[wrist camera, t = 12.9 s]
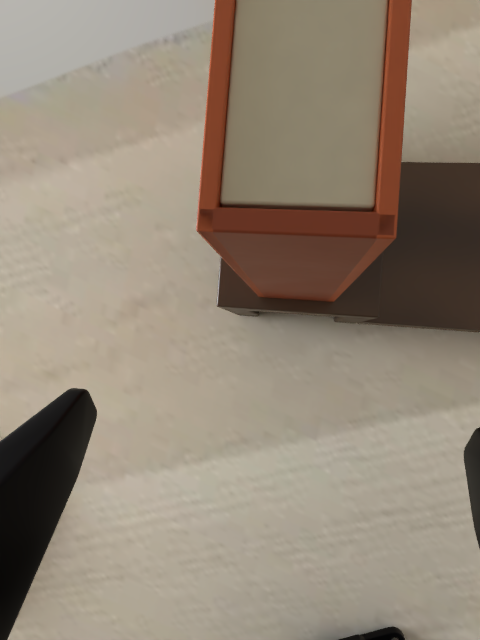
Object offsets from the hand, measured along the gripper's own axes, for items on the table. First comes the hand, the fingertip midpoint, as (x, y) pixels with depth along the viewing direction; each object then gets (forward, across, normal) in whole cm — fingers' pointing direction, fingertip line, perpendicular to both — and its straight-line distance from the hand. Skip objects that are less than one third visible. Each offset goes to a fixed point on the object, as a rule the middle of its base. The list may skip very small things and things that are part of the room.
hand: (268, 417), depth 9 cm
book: (+10, 0, -1) cm, 10 cm away
